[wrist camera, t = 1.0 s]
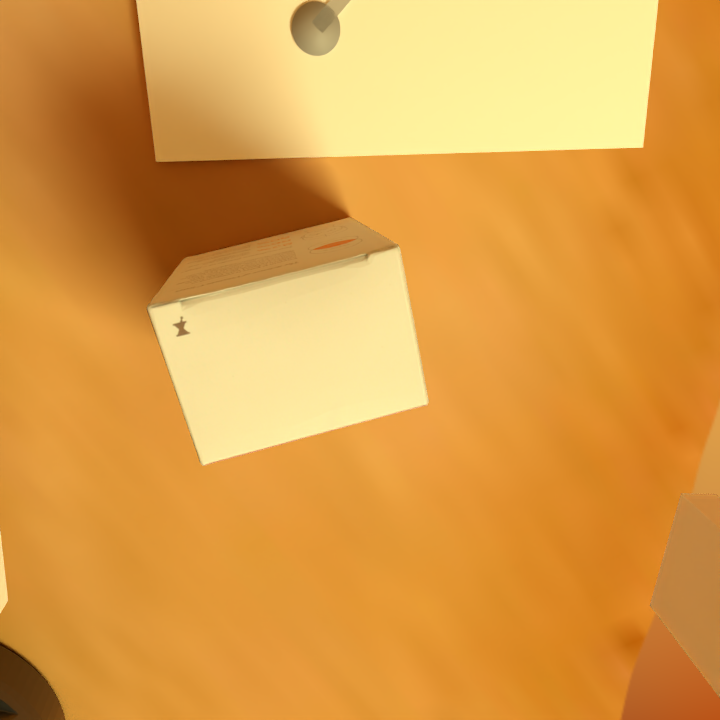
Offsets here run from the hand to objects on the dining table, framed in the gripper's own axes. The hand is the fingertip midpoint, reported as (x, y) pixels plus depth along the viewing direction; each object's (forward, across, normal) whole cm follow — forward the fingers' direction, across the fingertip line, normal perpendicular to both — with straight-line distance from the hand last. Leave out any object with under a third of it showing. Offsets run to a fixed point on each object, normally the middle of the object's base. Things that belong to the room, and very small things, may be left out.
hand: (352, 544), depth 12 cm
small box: (+19, +2, -1) cm, 19 cm away
